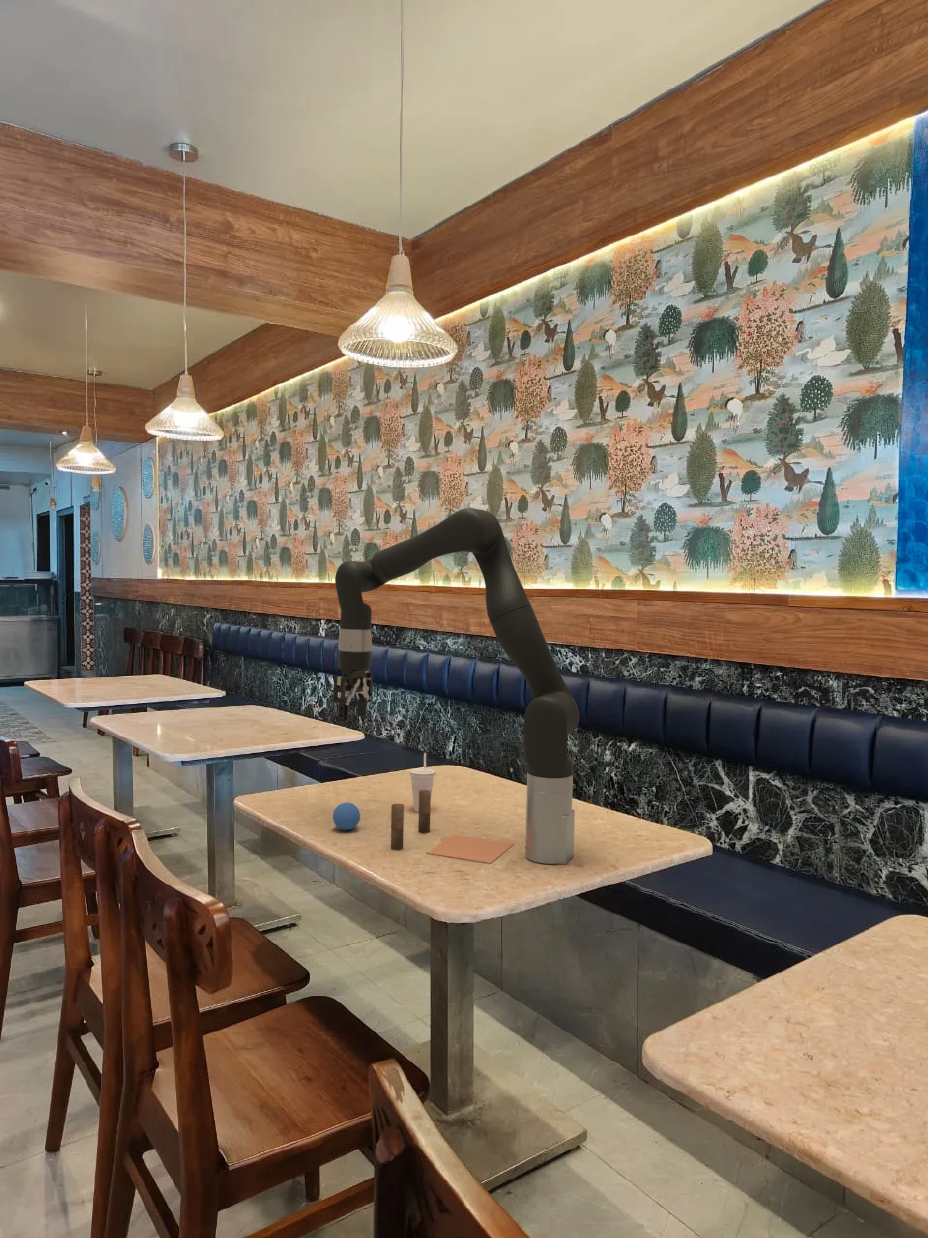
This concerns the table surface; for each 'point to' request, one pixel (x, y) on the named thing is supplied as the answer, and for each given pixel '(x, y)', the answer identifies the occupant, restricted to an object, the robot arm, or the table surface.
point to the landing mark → (471, 848)
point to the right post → (424, 811)
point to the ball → (346, 816)
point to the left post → (397, 826)
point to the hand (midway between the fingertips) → (352, 718)
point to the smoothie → (421, 782)
